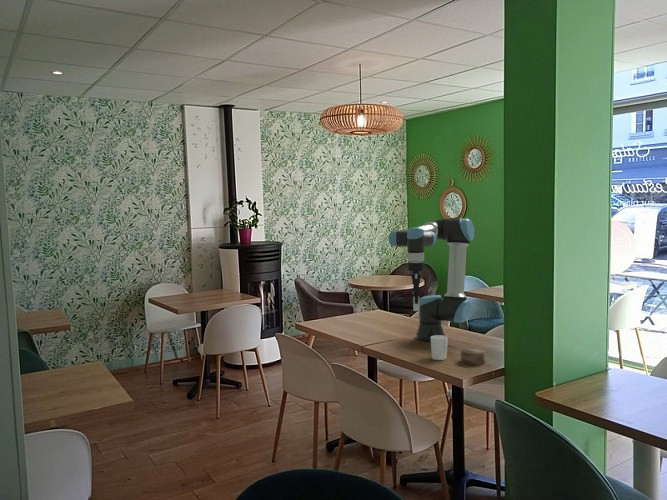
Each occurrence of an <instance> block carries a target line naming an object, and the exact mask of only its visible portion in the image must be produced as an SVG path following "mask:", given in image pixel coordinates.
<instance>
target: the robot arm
mask: <svg viewBox="0 0 667 500" xmlns="http://www.w3.org/2000/svg"><path fill="white" fill-rule="evenodd" d="M474 238H475V226H474V224H473V222H472V220H471V219H469V218H463V217H461V218H459V217H458V218H457V217H456V218H455V217H454V218H438V219H435V220H431V221H427V222H425V223H423V225H419V226H416V227H409V228H408V229H405V230H393V231H390V232H389V234H388V243H389V245H390V246H391V247H395V248H398V247H405V248H406V247H407V254H406V255H405V256H406V257H407V261H408V262H407V271H409V272H412V274H411V280H412V281H411V282H412V285H413V286H412V290H413V291H412V294H411V297H412V303H413V304H412V305H413V312H418V313H419V314H418V317H419V318H418V319H419V320H418V321H419V325H418V328H417V331H416V334H415V335H416V336H415V337H416V340H418V341H421V342H430V343H431V336H435V335H442V336H446V335H445V333H444V329H443V326H442V325H443V324H442V322H451V323H453V322H454V323H465V322H466V321H467V320H468V318H469V316H470V314H471V302H470V301H469V300H468V299H467V295H466V294H465V283H466V282H465V281H466V280H465V279H466V277H465V276H466V264H467V263H466V261H467V248H468V247H469V246H470V245H471V244H470V243H471V242H472V241H473V240H474ZM437 241H446V244H447V245H448V246H449V252H448V253H449V255H448V271H447V273H448V275H447V290H446V292H445V294H444V295H443V297H442V295H441V294H433V295H432V294H431V295H425V296H422V297H420V292H421V288H420V284H421V273H420V272H422V271H424V270H425V262H424V261H425V248H430V247H433V246H434V245H435V244H436V243H437Z"/></svg>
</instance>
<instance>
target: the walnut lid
mask: <svg viewBox="0 0 667 500" xmlns="http://www.w3.org/2000/svg"><path fill="white" fill-rule="evenodd" d="M485 355H486V352H485V350H482V349H480V348H463V349H461V350H460V362H461V363H462V364H463V365H468V366H482V365H484V364H485V363H486V356H485Z"/></svg>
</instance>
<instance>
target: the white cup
mask: <svg viewBox="0 0 667 500" xmlns="http://www.w3.org/2000/svg"><path fill="white" fill-rule="evenodd" d="M448 340H449V337H448V336H447V335H445V336H442V335H435V336H431V342H430V349H431V352H430V353H431V359H432V360H436V361H444V360H447V358H448V357H447V356H448V355H447V354H448V343H449V342H448Z"/></svg>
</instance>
